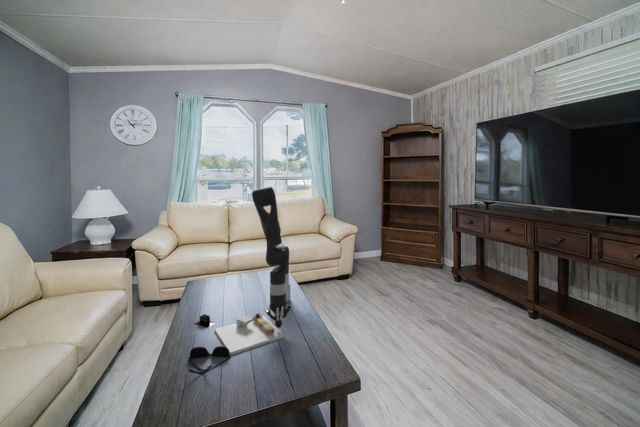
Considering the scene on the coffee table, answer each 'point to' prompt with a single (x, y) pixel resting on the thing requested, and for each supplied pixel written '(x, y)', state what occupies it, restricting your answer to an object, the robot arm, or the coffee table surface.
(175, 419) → the coffee table surface
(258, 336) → the board
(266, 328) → the oak link
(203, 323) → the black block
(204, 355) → the sunglasses
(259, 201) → the robot arm
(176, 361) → the coffee table surface
